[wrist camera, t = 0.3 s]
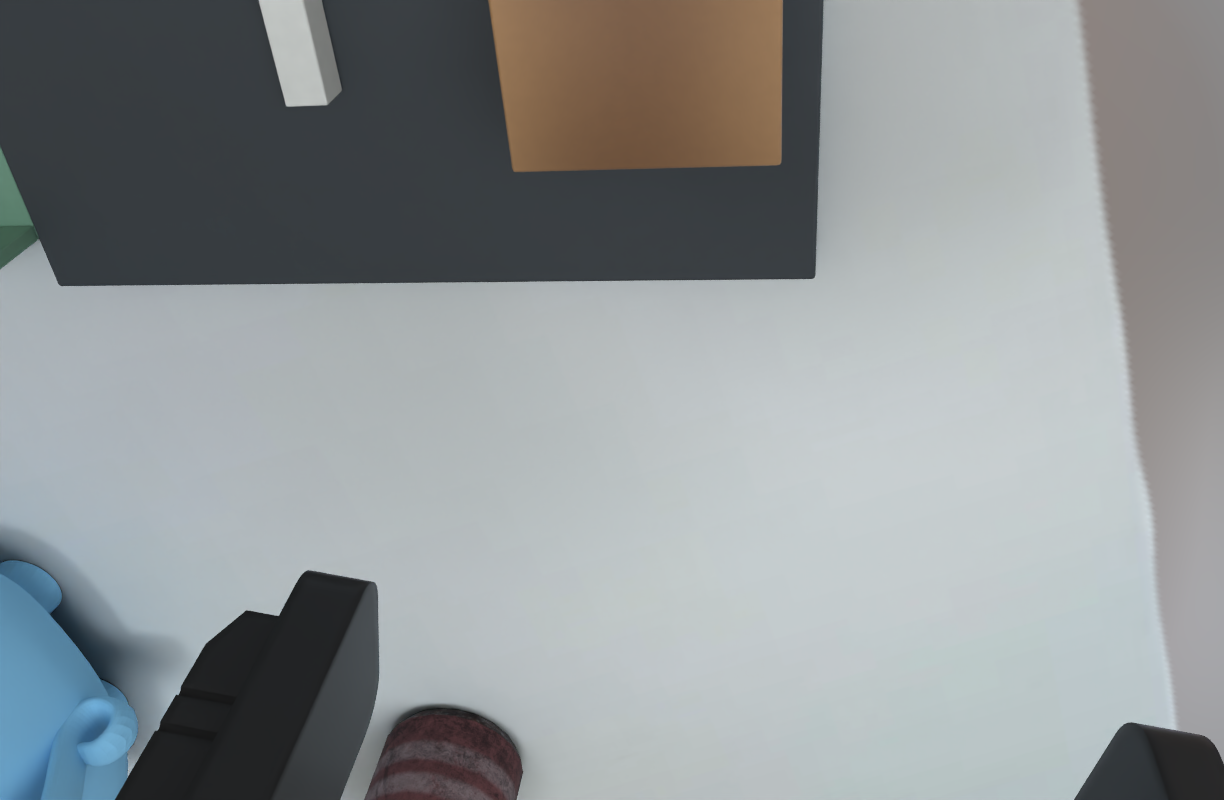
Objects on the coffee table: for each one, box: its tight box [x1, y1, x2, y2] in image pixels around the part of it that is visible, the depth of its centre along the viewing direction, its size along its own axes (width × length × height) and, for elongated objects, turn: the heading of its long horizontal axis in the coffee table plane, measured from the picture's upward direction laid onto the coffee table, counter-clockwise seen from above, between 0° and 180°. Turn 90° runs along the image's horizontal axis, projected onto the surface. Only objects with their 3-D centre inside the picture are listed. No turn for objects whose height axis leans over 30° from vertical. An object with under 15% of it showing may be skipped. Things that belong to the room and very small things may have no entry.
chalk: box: [259, 0, 342, 107], centre depth 28 cm, size 1×4×1 cm, turn 5°
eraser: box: [488, 0, 783, 172], centre depth 24 cm, size 6×4×6 cm
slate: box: [0, 0, 823, 286], centre depth 28 cm, size 24×16×1 cm, turn 95°
